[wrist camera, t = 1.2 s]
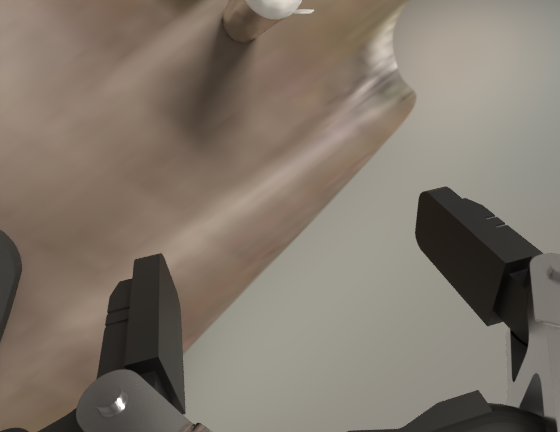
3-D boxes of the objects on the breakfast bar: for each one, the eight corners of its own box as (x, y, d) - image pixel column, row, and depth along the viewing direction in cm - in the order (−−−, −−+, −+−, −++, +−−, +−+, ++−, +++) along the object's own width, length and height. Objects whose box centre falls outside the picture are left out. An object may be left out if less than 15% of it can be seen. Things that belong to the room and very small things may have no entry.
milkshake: (246, 70, 34) (288, 34, 25) (203, 16, 32) (231, -45, 23) (282, 37, 35) (337, -10, 26) (242, -17, 33) (285, -89, 24)
